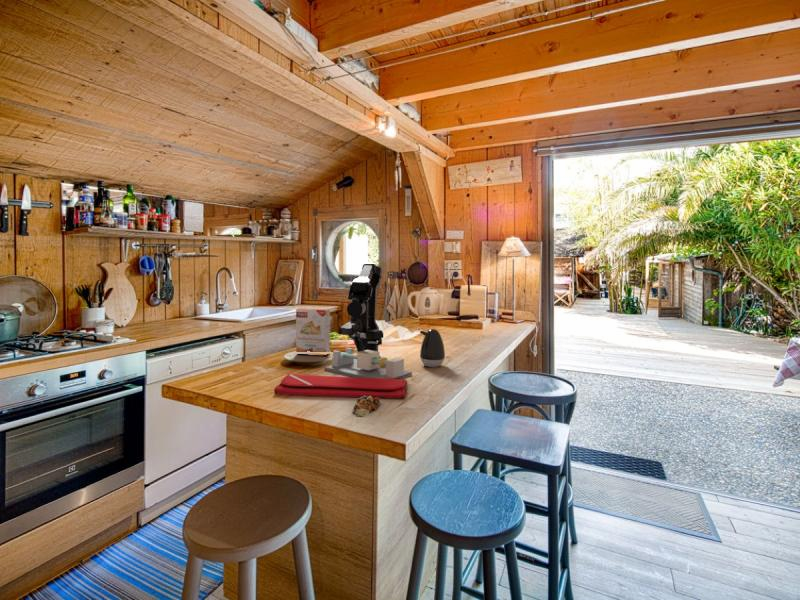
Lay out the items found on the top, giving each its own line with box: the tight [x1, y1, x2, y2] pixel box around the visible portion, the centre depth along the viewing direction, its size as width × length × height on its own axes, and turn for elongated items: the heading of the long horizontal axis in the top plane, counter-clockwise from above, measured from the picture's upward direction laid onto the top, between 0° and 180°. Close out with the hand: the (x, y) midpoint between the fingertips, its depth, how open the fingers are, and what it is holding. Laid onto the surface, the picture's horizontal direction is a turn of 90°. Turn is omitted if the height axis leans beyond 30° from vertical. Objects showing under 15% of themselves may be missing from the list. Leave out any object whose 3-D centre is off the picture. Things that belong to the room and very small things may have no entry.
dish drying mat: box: [273, 373, 408, 400], centre depth 136 cm, size 16×41×4 cm, turn 87°
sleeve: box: [356, 350, 381, 370], centre depth 157 cm, size 6×6×6 cm
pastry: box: [351, 395, 381, 418], centre depth 119 cm, size 7×12×4 cm, turn 174°
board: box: [324, 347, 413, 380], centre depth 158 cm, size 16×30×7 cm, turn 53°
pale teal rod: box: [340, 351, 389, 369], centre depth 158 cm, size 4×29×4 cm, turn 53°
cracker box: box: [295, 307, 331, 353], centre depth 186 cm, size 14×6×21 cm, turn 81°
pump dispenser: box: [419, 328, 446, 368], centre depth 169 cm, size 10×10×15 cm
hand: (360, 354), depth 160 cm, fingers closed
